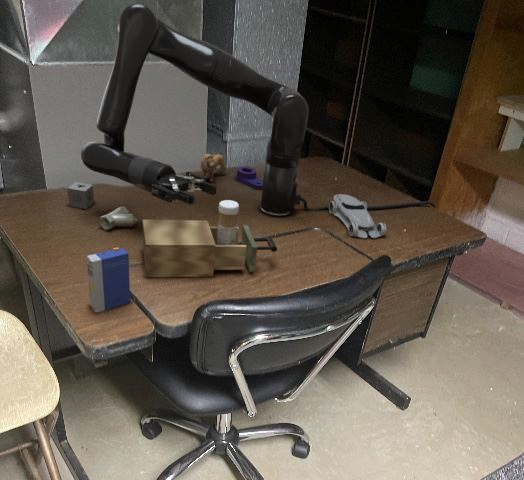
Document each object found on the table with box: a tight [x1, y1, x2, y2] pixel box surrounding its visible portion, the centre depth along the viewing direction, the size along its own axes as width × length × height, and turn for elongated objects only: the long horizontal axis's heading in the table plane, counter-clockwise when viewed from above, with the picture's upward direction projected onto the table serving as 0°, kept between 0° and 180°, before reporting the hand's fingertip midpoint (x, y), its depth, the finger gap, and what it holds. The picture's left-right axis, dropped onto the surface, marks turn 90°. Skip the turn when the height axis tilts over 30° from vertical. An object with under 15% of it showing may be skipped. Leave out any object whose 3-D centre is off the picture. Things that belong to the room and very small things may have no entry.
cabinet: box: [142, 219, 215, 278], centre depth 132 cm, size 15×13×8 cm
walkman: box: [86, 247, 131, 313], centre depth 113 cm, size 8×3×12 cm, turn 130°
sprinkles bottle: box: [217, 199, 240, 245], centre depth 132 cm, size 5×5×13 cm
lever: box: [236, 166, 263, 190], centre depth 182 cm, size 12×6×3 cm, turn 36°
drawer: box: [209, 224, 278, 273], centre depth 135 cm, size 20×12×6 cm, turn 102°
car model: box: [328, 193, 387, 239], centre depth 165 cm, size 11×24×5 cm, turn 15°
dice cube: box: [66, 181, 95, 210], centre depth 153 cm, size 5×5×5 cm
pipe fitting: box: [99, 206, 139, 231], centre depth 145 cm, size 8×4×7 cm
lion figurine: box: [200, 153, 226, 182], centre depth 180 cm, size 15×5×9 cm, turn 162°
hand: (204, 195), depth 131 cm, fingers open, 8 cm apart
